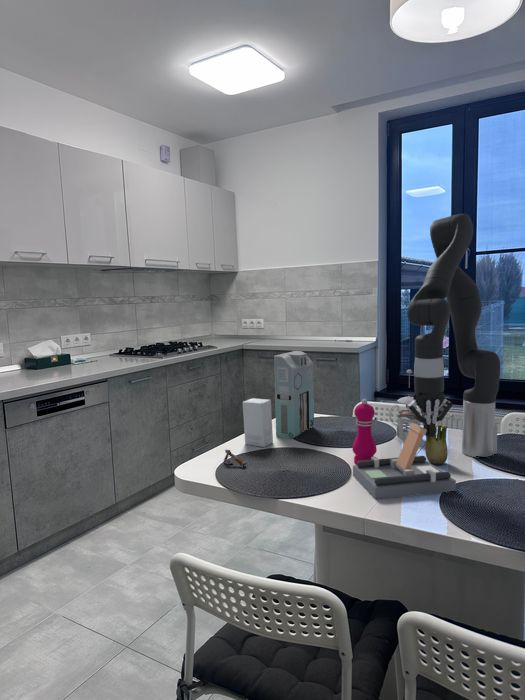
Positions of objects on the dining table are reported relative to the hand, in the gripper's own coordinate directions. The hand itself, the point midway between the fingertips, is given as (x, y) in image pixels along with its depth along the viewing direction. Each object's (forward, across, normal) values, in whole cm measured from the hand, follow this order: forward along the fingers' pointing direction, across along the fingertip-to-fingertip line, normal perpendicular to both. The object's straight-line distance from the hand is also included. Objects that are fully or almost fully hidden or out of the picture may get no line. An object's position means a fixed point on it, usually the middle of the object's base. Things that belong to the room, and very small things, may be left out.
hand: (429, 436), depth 126 cm
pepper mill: (+13, +12, -17) cm, 24 cm away
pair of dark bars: (+9, +8, 0) cm, 12 cm away
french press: (+14, -11, -36) cm, 40 cm away
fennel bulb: (+13, -9, -12) cm, 20 cm away
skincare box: (+12, +41, -43) cm, 61 cm away
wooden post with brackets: (+12, +52, -23) cm, 58 cm away
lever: (+8, +8, 0) cm, 12 cm away
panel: (+12, +8, 0) cm, 15 cm away
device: (+12, +26, -54) cm, 61 cm away
